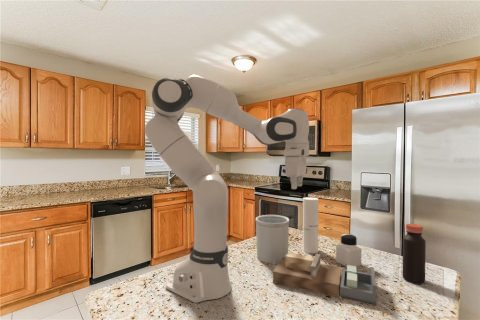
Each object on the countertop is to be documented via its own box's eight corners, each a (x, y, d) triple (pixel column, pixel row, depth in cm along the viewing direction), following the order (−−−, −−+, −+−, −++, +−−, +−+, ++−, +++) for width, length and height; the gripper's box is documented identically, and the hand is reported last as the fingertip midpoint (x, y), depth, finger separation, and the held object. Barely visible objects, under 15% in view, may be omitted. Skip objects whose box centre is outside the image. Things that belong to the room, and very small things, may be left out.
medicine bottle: (361, 265, 103) (362, 236, 103) (348, 268, 100) (348, 238, 100) (348, 259, 109) (348, 231, 109) (335, 261, 107) (335, 233, 106)
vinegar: (420, 276, 93) (420, 223, 93) (428, 285, 87) (429, 228, 86) (399, 274, 95) (400, 222, 95) (406, 283, 88) (407, 227, 88)
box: (340, 297, 79) (340, 278, 79) (342, 278, 92) (342, 262, 92) (376, 305, 75) (376, 286, 75) (373, 284, 87) (373, 267, 87)
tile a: (346, 278, 79) (357, 280, 78) (347, 272, 84) (357, 274, 83) (346, 294, 79) (357, 296, 78) (347, 287, 84) (357, 289, 83)
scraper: (282, 271, 88) (282, 260, 88) (290, 259, 99) (290, 249, 99) (315, 278, 83) (315, 266, 83) (320, 264, 94) (320, 254, 94)
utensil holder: (281, 267, 100) (281, 224, 100) (249, 259, 108) (249, 219, 108) (293, 255, 113) (294, 217, 113) (264, 249, 121) (264, 213, 121)
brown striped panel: (272, 282, 89) (272, 271, 89) (283, 266, 101) (283, 257, 101) (339, 297, 79) (339, 284, 79) (341, 278, 92) (341, 267, 92)
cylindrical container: (318, 253, 115) (319, 200, 115) (303, 252, 116) (303, 199, 116) (317, 248, 122) (317, 197, 122) (302, 247, 123) (302, 197, 123)
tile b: (346, 270, 85) (356, 272, 84) (347, 264, 90) (356, 266, 89) (346, 285, 85) (356, 286, 84) (347, 278, 90) (356, 280, 89)
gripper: (294, 152, 106) (294, 184, 106) (282, 151, 88) (281, 190, 88) (310, 152, 104) (309, 185, 104) (300, 150, 85) (299, 191, 85)
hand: (296, 187), depth 96 cm, fingers open, 8 cm apart
